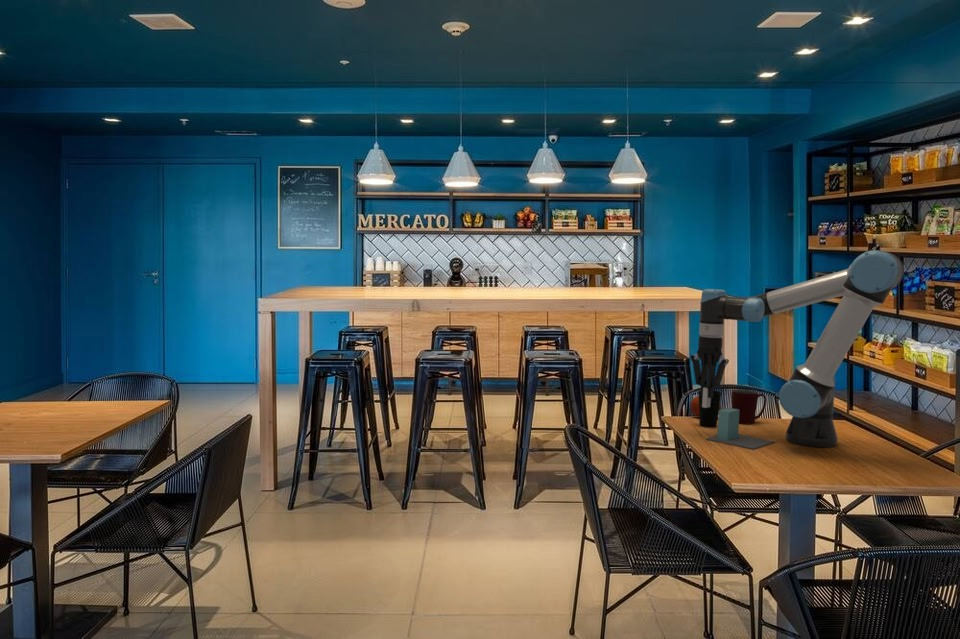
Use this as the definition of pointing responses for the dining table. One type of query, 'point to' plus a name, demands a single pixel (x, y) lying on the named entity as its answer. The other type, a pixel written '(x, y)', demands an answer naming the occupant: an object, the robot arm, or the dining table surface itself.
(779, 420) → the dining table surface
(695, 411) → the fruit
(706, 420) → the cup
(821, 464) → the dining table surface
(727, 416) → the card box
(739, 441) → the mat
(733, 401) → the mug
